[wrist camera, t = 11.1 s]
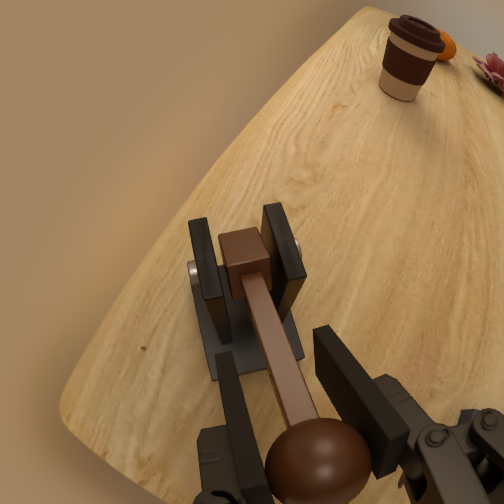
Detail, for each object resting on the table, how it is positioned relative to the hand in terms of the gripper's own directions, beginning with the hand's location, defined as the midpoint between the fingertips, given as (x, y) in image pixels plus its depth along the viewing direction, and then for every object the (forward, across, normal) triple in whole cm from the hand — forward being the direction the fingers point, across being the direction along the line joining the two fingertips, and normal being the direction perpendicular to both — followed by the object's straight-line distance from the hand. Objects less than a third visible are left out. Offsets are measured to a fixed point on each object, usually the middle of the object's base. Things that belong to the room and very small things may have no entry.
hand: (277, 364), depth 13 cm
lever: (0, 0, -1) cm, 1 cm away
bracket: (+14, 0, -5) cm, 15 cm away
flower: (+43, +80, +24) cm, 93 cm away
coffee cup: (+36, +36, +17) cm, 53 cm away
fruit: (+49, +63, +30) cm, 86 cm away
